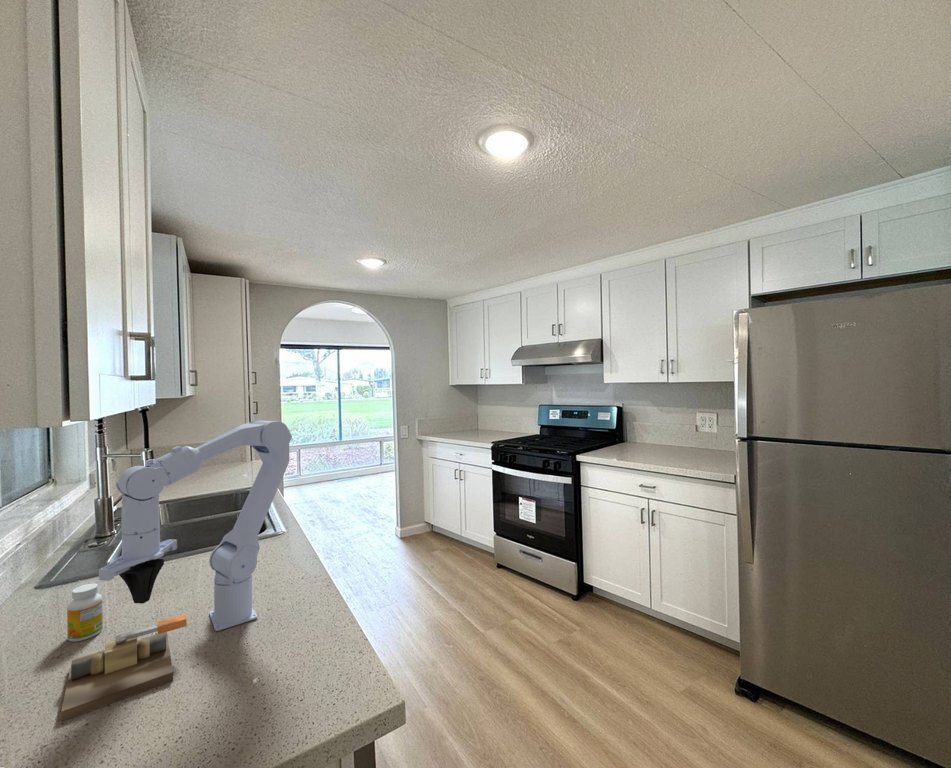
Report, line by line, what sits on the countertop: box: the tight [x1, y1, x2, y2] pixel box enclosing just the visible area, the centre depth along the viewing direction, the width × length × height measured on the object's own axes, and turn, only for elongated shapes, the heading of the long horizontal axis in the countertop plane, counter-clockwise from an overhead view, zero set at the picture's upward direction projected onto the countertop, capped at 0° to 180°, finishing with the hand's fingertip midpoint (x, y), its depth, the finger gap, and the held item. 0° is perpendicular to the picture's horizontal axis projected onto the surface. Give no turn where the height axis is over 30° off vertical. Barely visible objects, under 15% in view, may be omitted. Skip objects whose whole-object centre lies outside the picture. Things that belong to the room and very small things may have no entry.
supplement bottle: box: [66, 583, 104, 643], centre depth 88 cm, size 5×5×10 cm
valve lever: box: [114, 613, 188, 644], centre depth 79 cm, size 10×2×1 cm, turn 126°
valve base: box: [60, 632, 174, 722], centre depth 76 cm, size 16×14×5 cm
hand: (141, 601), depth 81 cm, fingers closed
